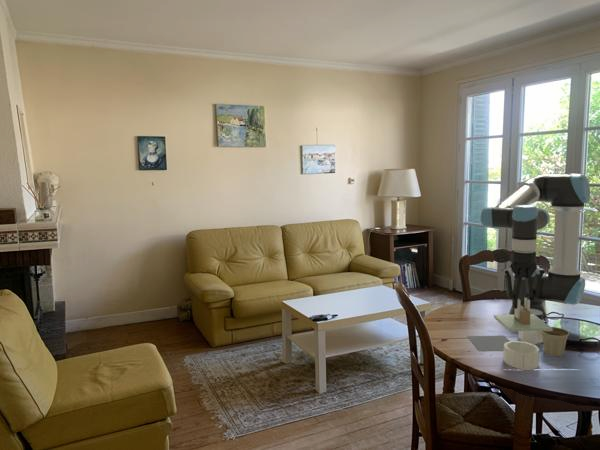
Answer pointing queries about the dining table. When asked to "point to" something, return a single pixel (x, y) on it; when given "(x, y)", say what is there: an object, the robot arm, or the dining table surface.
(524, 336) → the jar
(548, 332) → the flower pot
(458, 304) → the dining table surface
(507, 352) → the bowl
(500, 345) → the mat
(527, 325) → the lid
